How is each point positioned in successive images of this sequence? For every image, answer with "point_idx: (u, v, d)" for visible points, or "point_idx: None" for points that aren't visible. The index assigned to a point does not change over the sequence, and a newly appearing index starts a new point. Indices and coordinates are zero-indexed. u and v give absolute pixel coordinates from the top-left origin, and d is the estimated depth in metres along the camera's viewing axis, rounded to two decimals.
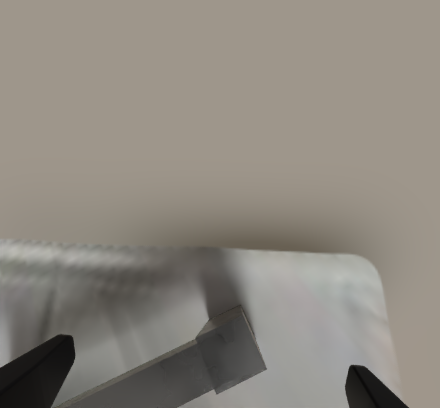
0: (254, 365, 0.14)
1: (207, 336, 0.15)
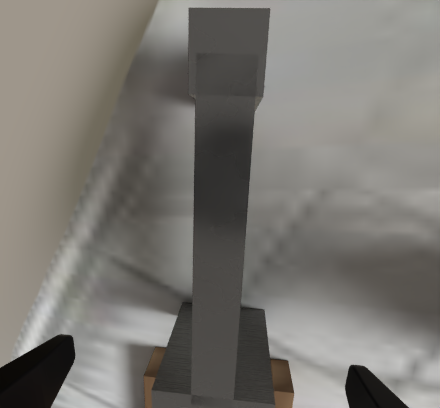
0: (257, 25, 0.10)
1: (193, 76, 0.10)
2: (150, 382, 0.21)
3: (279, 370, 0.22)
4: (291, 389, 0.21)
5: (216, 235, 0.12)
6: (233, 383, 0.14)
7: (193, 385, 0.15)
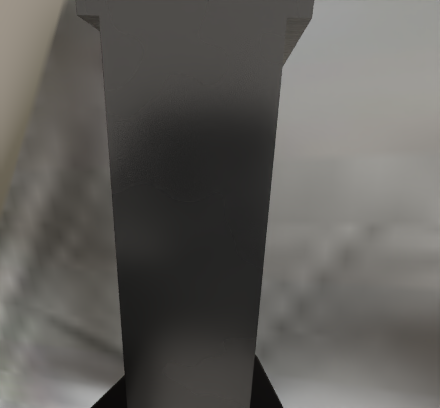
0: None
1: None
2: None
3: None
4: None
5: (181, 383, 0.05)
6: None
7: None
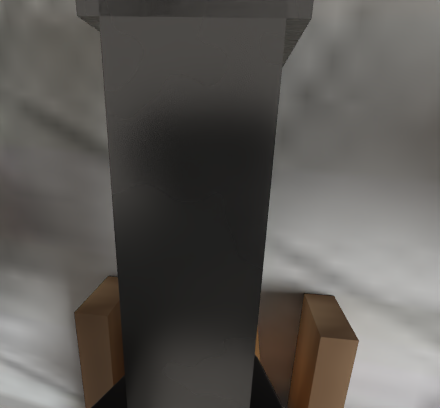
0: None
1: None
2: (87, 324, 0.12)
3: (321, 308, 0.12)
4: (351, 335, 0.11)
5: (181, 383, 0.05)
6: None
7: None
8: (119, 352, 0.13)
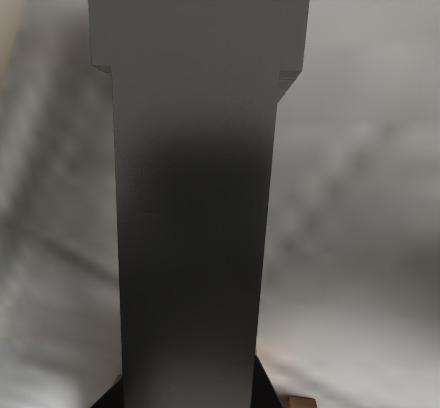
0: None
1: (103, 12, 0.04)
2: None
3: None
4: None
5: None
6: None
7: None
8: None
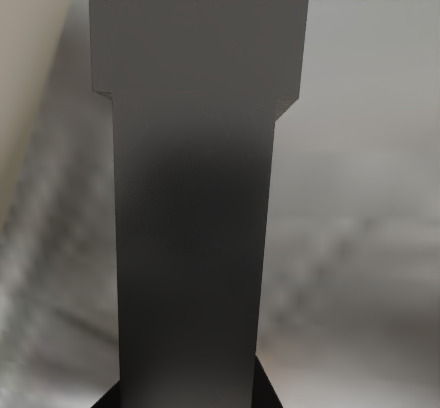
0: None
1: (104, 41, 0.04)
2: None
3: None
4: None
5: None
6: None
7: None
8: None
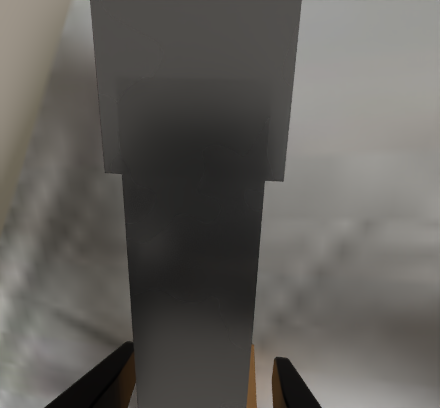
0: (269, 3, 0.04)
1: (113, 132, 0.04)
2: None
3: None
4: None
5: None
6: None
7: None
8: None
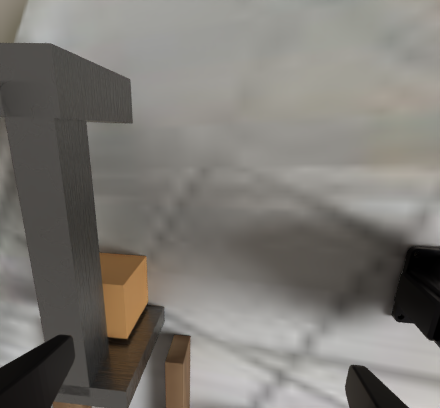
0: (43, 57, 0.11)
1: None
2: None
3: (177, 344, 0.23)
4: (182, 360, 0.22)
5: (46, 238, 0.14)
6: (86, 372, 0.16)
7: None
8: None
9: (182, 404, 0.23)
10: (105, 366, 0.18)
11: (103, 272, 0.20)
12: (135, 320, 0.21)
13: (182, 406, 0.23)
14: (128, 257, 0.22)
